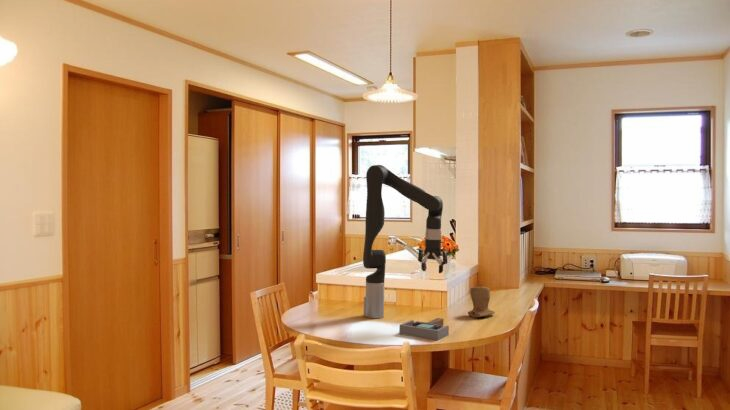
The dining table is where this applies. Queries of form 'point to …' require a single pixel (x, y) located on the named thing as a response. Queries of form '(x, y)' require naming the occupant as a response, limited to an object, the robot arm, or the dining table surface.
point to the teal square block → (426, 326)
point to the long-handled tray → (432, 323)
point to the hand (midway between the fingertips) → (432, 271)
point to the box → (423, 331)
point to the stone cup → (480, 302)
